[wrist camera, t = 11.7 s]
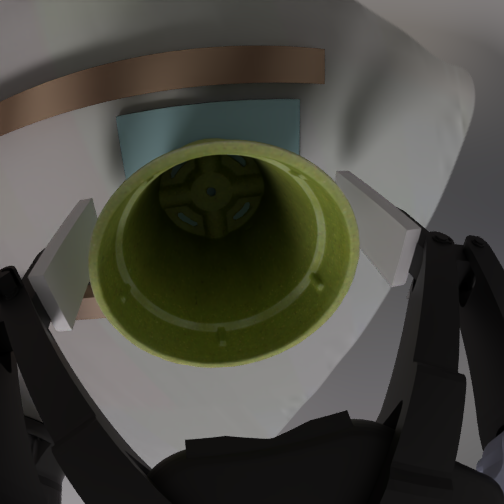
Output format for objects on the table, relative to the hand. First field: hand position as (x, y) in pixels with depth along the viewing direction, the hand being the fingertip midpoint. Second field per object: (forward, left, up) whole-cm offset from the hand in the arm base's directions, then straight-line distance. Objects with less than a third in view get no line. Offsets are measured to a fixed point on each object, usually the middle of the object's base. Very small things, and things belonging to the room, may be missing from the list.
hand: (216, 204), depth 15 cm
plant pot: (0, 0, -2) cm, 2 cm away
